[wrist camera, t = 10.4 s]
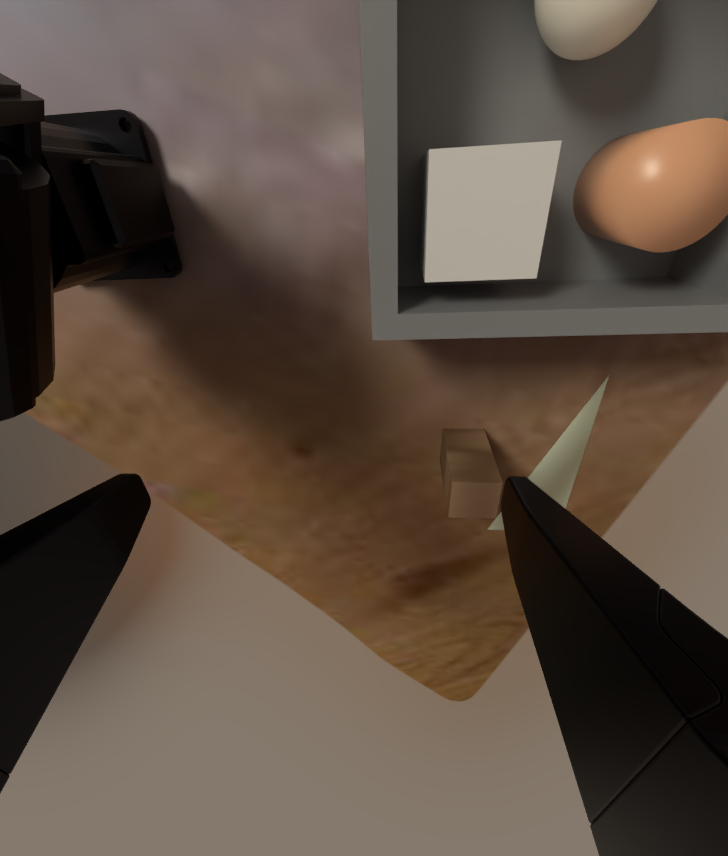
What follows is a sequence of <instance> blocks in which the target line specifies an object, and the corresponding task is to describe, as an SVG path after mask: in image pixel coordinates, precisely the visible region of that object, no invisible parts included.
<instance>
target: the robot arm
mask: <svg viewBox="0 0 728 856" xmlns="http://www.w3.org/2000/svg"><path fill="white" fill-rule="evenodd" d="M126 119H128V120H129V122H130V124H131V130H130V132H128V131H127V130H126V128H125V120H126ZM174 231H175V229H174V225H173V222H172V218H171V215H170V211H169V208H168V204H167V201H166V197H165V194H164V190H163V187H162V183H161V180H160V176H159V172H158V170H157V169H156V168H155V167H154V166H153V163H152V159H151V156H150V152H149V149H148V145H147V142H146V138H145V135H144V131H143V128H142V125H141V123H140V120H139V119H138V118H137V116H136V115H135V114H133V113H132V112H129V111H126V110H108V111H96V112H84V113H71V114H59V115H47V116H44V100H43V99H42V98H40V97H38V96H36V95H34V94H32V93H30V92H28V91H26V90H24V89H22V88H21V85H20V84H19V83H17V82H15V81H13V80H12V79H10V78H8V77H6V76H4V75H2V74H1V73H0V421H4V420H7V419H10V418H13V417H15V416H17V415H19V414H21V413H23V412H25V411H27V410H30V409H32V408H33V407H34V406H35V405H36V397H38V396H39V395H40V394H41V393H42V392H43V391H44V390H45V389H46V388H47V387H48V385H49V384H50V383H51V382H52V381H53V378H54V370H55V338H54V299H53V293H55V292H58V291H61V290H64V289H67V288H71V287H74V286H77V285H80V284H83V283H86V282H89V281H97V280H122V279H147V278H172V277H175V276H177V275H179V274H180V273H181V272H182V264H181V260H180V257H179V253H178V250H177V246H176V243H175V239H174V236H173V233H174ZM167 262H170V263H171V264H172V265H173V271H172V270H170V269H169V268H168V266H167ZM150 504H151V499H150V496H149V494H148V492H147V489H146V487H145V485H144V483H143V481H142V479H141V477H140V476H139V475H137V474H119V475H117V476H115V477H113V478H111V479H109V480H107V481H105V482H103V483H101V484H99V485H97V486H95V487H93V488H91V489H89V490H87V491H85V492H83V493H81V494H80V495H78V496H76V497H74V498H72V499H70V500H68V501H66V502H64V503H62V504H60V505H58V506H56V507H54V508H52V509H50V510H48V511H46V512H45V513H42V514H41V515H39V516H37V517H35V518H33V519H31V520H29V521H27V522H25V523H23V524H21V525H19V526H17V527H15V528H13V529H11V530H9V531H7V532H5V533H3V534H2V535H0V793H1V791H2V789H3V787H4V786H5V784H6V782H7V780H8V778H9V774H10V773H11V772H12V770H13V769H14V767H15V765H16V763H17V761H18V759H19V758H20V756H21V754H22V752H23V750H24V748H25V747H26V745H27V743H28V741H29V739H30V737H31V736H32V734H33V732H34V730H35V728H36V726H37V725H38V723H39V721H40V719H41V717H42V716H43V714H44V712H45V710H46V708H47V706H48V705H49V703H50V701H51V699H52V697H53V695H54V694H55V692H56V690H57V688H58V686H59V685H60V683H61V681H62V679H63V677H64V675H65V674H66V672H67V670H68V668H69V666H70V665H71V663H72V661H73V659H74V657H75V655H76V654H77V652H78V650H79V648H80V646H81V644H82V643H83V641H84V639H85V637H86V635H87V633H88V632H89V630H90V628H91V626H92V624H93V623H94V620H95V619H96V617H97V615H98V613H99V611H100V610H101V608H102V606H103V604H104V602H105V601H106V599H107V597H108V595H109V593H110V591H111V590H112V588H113V586H114V584H115V582H116V581H117V579H118V577H119V575H120V573H121V571H122V570H123V567H124V566H125V564H126V562H127V560H128V557H129V555H130V553H131V551H132V548H133V546H134V543H135V541H136V539H137V537H138V534H139V532H140V530H141V527H142V525H143V523H144V520H145V518H146V515H147V513H148V511H149V508H150ZM501 514H502V519H503V525H504V530H505V536H506V541H507V547H508V552H509V558H510V563H511V568H512V573H513V576H514V580H515V584H516V587H517V590H518V593H519V596H520V600H521V603H522V606H523V609H524V613H525V616H526V619H527V622H528V626H529V629H530V632H531V635H532V638H533V642H534V645H535V648H536V651H537V655H538V658H539V661H540V664H541V667H542V671H543V674H544V677H545V681H546V684H547V687H548V690H549V694H550V697H551V700H552V703H553V707H554V710H555V713H556V716H557V719H558V722H559V726H560V729H561V732H562V735H563V739H564V742H565V745H566V749H567V752H568V755H569V758H570V761H571V765H572V768H573V771H574V775H575V778H576V781H577V784H578V787H579V791H580V794H581V797H582V800H583V804H584V807H585V810H586V813H587V817H588V820H589V822H590V823H591V826H590V827H591V830H592V833H593V837H594V840H595V843H596V847H597V850H598V853H599V856H728V638H726V637H725V636H723V635H722V634H721V633H720V632H718V631H717V630H715V629H714V628H713V627H712V626H710V625H709V624H708V623H707V622H705V621H704V620H703V619H701V618H700V617H699V616H698V615H696V614H695V613H694V612H692V611H691V610H690V609H688V608H687V607H686V606H685V605H683V604H682V603H681V602H680V601H679V600H677V599H676V598H675V597H674V596H672V595H671V594H670V593H669V592H668V591H666V590H665V589H660V585H659V584H657V583H656V582H655V581H653V579H651V578H650V577H649V576H648V575H646V574H645V573H644V572H642V571H641V570H640V569H639V568H638V567H636V566H635V565H634V564H632V562H630V561H629V560H628V559H627V558H625V557H624V556H623V555H622V554H620V553H619V552H618V551H617V550H615V549H614V548H613V547H612V546H611V545H609V544H608V543H607V542H606V541H604V540H603V539H602V538H601V537H600V536H598V535H597V534H596V533H595V532H593V531H592V530H591V529H590V528H588V527H587V526H586V525H585V524H584V523H582V522H581V521H580V520H579V519H577V518H576V517H575V516H574V515H572V514H571V513H570V512H569V511H567V510H566V509H565V508H564V507H563V506H561V505H560V504H559V503H558V502H556V501H555V500H554V499H553V498H551V497H550V496H549V495H548V494H547V493H545V492H544V491H543V490H542V489H540V488H539V487H538V486H537V485H535V484H534V483H533V482H532V481H531V480H529V479H528V478H526V477H519V476H510V477H508V478H507V479H506V481H505V485H504V490H503V496H502V501H501Z"/></svg>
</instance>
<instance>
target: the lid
mask: <svg viewBox="0 0 728 856" xmlns="http://www.w3.org/2000/svg"><path fill="white" fill-rule="evenodd" d="M608 378H609V376H608V377H607V378H606V380H605V381H604V382H603V383H602V385H601V386H600V387H599V389H598V390H597V391H596V392H595V394H594V395H593V396H592V397H591V399H590V400H589V401H588V403H587V404H586V405H585V406H584V408H583V409H582V410H581V411H580V413H579V414H578V415H577V416H576V418H575V419H574V420H573V421H572V423H571V424H570V425H569V427H568V428H567V429H566V430H565V432H564V433H563V434H562V435H561V437H560V438H559V439H558V440H557V442H556V443H555V444H554V446H553V447H552V448H551V449H550V451H549V452H548V453H547V454H546V456H545V457H544V458H543V459H542V461H541V462H540V463H539V465H538V466H537V467H536V468H535V470H534V471H533V472H532V473H531V475H530V476H529V477H528V479H529V480H531V481H532V482H533V483H534V484H535V485H537V486H538V487H539V488H540V489H542V490H543V491H544V492H545V493H547V494H548V495H549V496H550V497H551V498H553V499H554V500H555V501H556V502H558V503H559V504H560V505H561V506H563V507H564V508H566V505H567V502H568V499H569V496H570V493H571V490H572V487H573V484H574V481H575V478H576V475H577V472H578V469H579V466H580V463H581V460H582V457H583V454H584V451H585V448H586V445H587V442H588V439H589V436H590V433H591V429H592V426H593V423H594V420H595V417H596V414H597V411H598V408H599V405H600V402H601V399H602V396H603V393H604V390H605V387H606V384H607V381H608ZM440 464H441V471H442V477H443V484H444V491H445V497H446V504H447V511H448V517H449V518H490V519H495V520H494V521H493V523H492V524H491V525H490V527H489V528H488V529H487V530H504V525H503V519H502V514H501V513H500V514H499V515H498V516H497V511H498V506H499V501H500V496H501V491H502V486H503V481H502V478H501V476H500V473H499V470H498V467H497V464H496V461H495V458H494V456H493V453H492V450H491V447H490V444H489V441H488V438H487V436H486V433H485V430H484V429H443V431H442V443H441V456H440ZM496 516H497V518H496Z"/></svg>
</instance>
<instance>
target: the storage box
mask: <svg viewBox="0 0 728 856" xmlns="http://www.w3.org/2000/svg"><path fill="white" fill-rule="evenodd" d="M359 20H360V45H361V70H362V95H363V120H364V145H365V170H366V195H367V220H368V245H369V270H370V295H371V320H372V341H373V340H415V339H458V338H500V337H542V336H585V335H627V334H669V333H712V332H728V0H359Z"/></svg>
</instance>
